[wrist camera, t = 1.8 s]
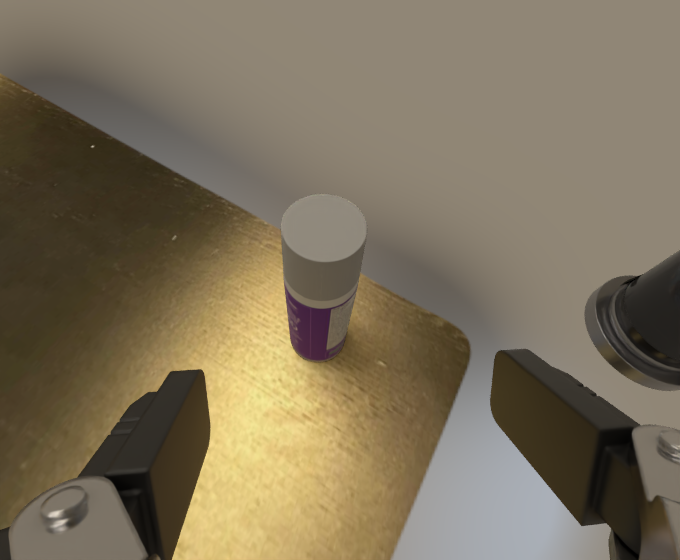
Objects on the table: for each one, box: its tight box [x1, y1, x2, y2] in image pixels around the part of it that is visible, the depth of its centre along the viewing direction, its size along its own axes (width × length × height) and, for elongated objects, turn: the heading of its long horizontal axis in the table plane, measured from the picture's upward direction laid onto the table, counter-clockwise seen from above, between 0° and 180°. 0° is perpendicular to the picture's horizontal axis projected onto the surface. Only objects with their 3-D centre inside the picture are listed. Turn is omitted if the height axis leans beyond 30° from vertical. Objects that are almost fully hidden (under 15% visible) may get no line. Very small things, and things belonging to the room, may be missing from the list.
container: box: [281, 194, 367, 362], centre depth 26 cm, size 5×5×15 cm
